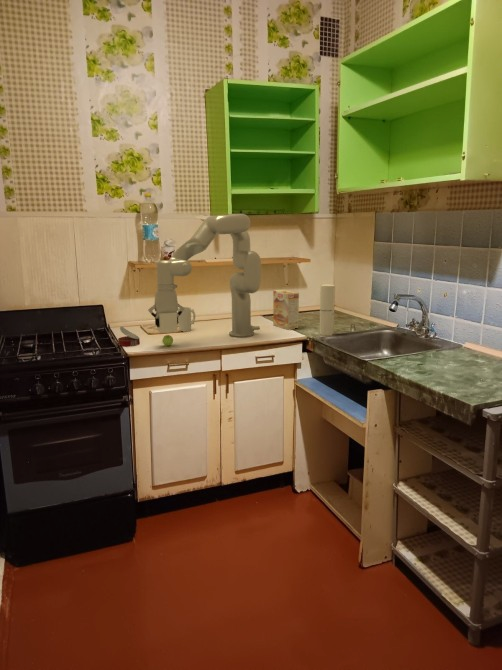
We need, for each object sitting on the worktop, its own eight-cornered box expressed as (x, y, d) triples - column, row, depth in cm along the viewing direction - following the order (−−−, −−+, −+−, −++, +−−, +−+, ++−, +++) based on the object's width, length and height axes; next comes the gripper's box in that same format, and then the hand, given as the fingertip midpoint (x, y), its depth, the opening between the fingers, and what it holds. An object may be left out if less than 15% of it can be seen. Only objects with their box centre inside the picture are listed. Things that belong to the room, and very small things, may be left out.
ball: (174, 338, 236) (174, 347, 238) (171, 332, 240) (171, 341, 242) (163, 339, 234) (163, 348, 236) (161, 333, 238) (161, 342, 240)
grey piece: (173, 328, 241) (172, 310, 239) (177, 331, 234) (176, 312, 232) (157, 329, 238) (156, 311, 236) (160, 333, 231) (160, 313, 229)
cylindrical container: (316, 333, 263) (317, 284, 257) (328, 332, 265) (330, 283, 260) (323, 336, 256) (325, 286, 251) (336, 334, 259) (337, 285, 253)
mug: (183, 332, 266) (182, 309, 264) (176, 330, 271) (175, 308, 269) (199, 329, 273) (198, 307, 270) (192, 327, 278) (191, 306, 275)
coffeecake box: (272, 325, 283) (272, 290, 279) (283, 323, 287) (283, 289, 282) (287, 330, 271) (288, 293, 266) (298, 328, 274) (299, 292, 270)
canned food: (127, 351, 248) (132, 331, 250) (142, 352, 242) (147, 332, 244) (109, 344, 239) (115, 324, 242) (124, 345, 233) (129, 324, 236)
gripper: (182, 286, 238) (183, 323, 242) (144, 287, 232) (146, 325, 235) (186, 288, 231) (187, 326, 235) (148, 289, 225) (149, 328, 229)
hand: (167, 325), depth 235 cm, fingers closed on grey piece, 7 cm apart
